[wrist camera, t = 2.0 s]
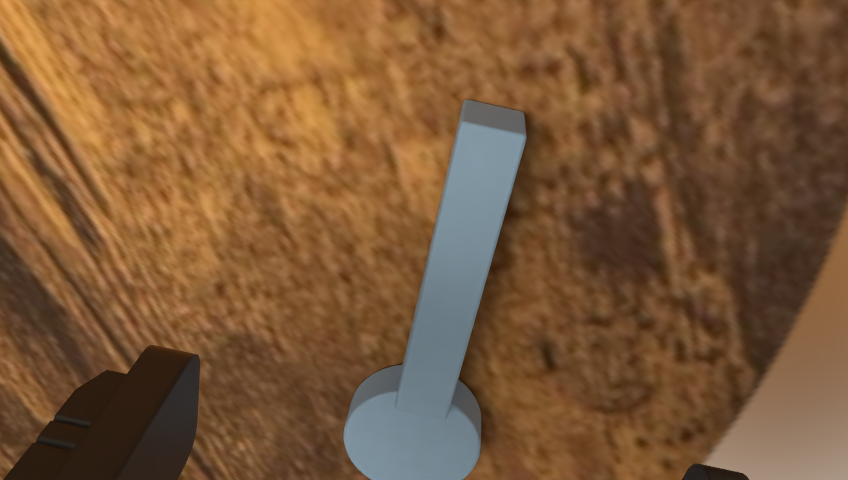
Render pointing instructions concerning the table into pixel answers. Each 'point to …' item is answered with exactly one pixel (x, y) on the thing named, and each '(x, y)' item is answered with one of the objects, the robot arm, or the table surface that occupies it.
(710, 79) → the table surface
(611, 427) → the table surface
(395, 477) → the spoon
